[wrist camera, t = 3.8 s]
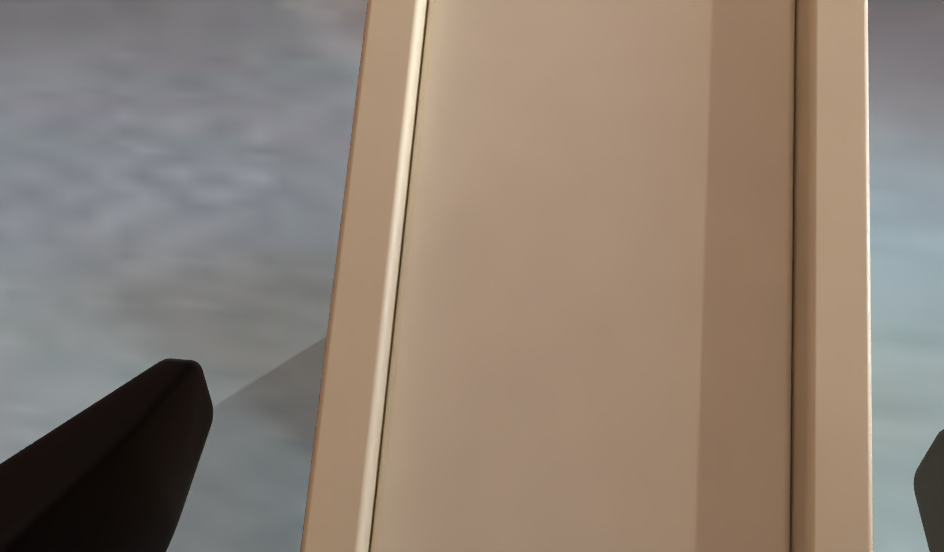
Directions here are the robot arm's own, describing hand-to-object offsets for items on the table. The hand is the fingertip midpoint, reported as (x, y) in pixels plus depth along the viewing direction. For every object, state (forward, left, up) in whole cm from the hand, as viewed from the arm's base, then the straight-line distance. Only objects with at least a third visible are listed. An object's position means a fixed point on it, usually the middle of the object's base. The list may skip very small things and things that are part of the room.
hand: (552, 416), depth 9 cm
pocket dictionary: (0, 0, -8) cm, 8 cm away
